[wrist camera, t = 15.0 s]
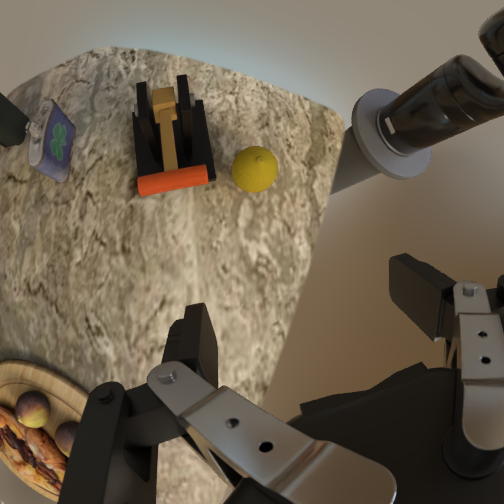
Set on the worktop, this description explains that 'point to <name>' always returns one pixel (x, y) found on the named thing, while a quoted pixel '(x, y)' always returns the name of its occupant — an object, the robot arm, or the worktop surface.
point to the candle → (11, 123)
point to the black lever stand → (184, 129)
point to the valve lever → (169, 151)
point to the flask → (51, 142)
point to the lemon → (254, 169)
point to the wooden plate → (38, 423)
